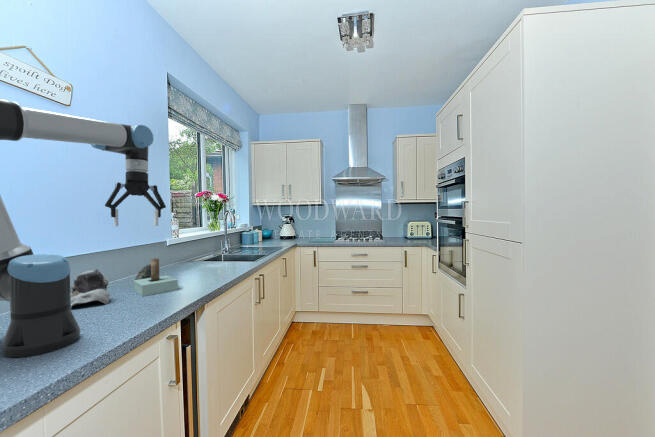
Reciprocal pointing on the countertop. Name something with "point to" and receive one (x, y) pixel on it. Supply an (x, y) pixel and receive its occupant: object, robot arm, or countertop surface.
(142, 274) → the rock
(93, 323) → the countertop surface
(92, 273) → the stone
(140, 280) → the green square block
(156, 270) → the dowel
